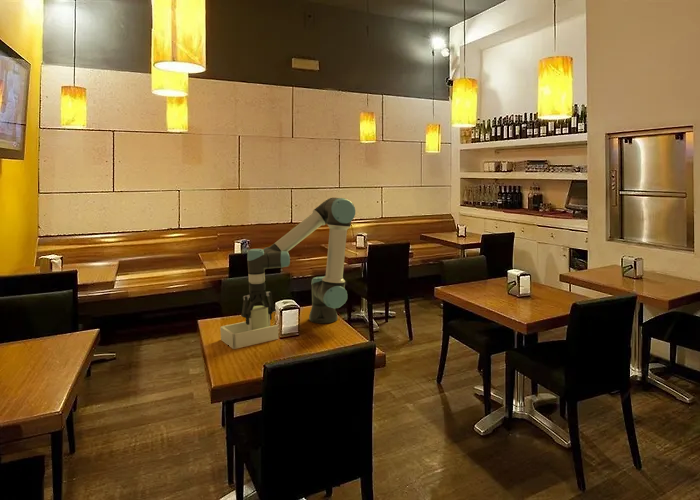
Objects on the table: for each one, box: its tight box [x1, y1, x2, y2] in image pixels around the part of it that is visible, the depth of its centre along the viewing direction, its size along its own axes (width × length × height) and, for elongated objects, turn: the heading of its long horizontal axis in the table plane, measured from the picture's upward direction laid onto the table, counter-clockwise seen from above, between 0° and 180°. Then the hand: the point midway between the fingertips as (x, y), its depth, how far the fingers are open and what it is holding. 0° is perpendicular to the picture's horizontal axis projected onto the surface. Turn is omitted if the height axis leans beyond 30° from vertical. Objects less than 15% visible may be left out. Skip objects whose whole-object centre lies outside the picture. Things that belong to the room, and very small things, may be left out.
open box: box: [219, 321, 279, 350], centre depth 217 cm, size 22×15×6 cm
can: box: [250, 305, 269, 330], centre depth 218 cm, size 9×9×12 cm
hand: (259, 328), depth 219 cm, fingers closed on can, 9 cm apart
